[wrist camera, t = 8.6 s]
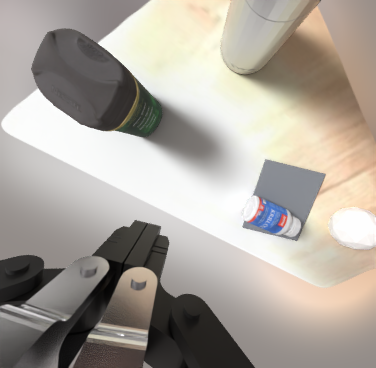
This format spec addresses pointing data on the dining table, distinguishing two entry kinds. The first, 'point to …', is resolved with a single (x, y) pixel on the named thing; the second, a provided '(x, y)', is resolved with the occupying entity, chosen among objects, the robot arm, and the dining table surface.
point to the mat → (287, 191)
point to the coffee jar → (93, 85)
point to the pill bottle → (270, 217)
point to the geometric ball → (354, 228)
